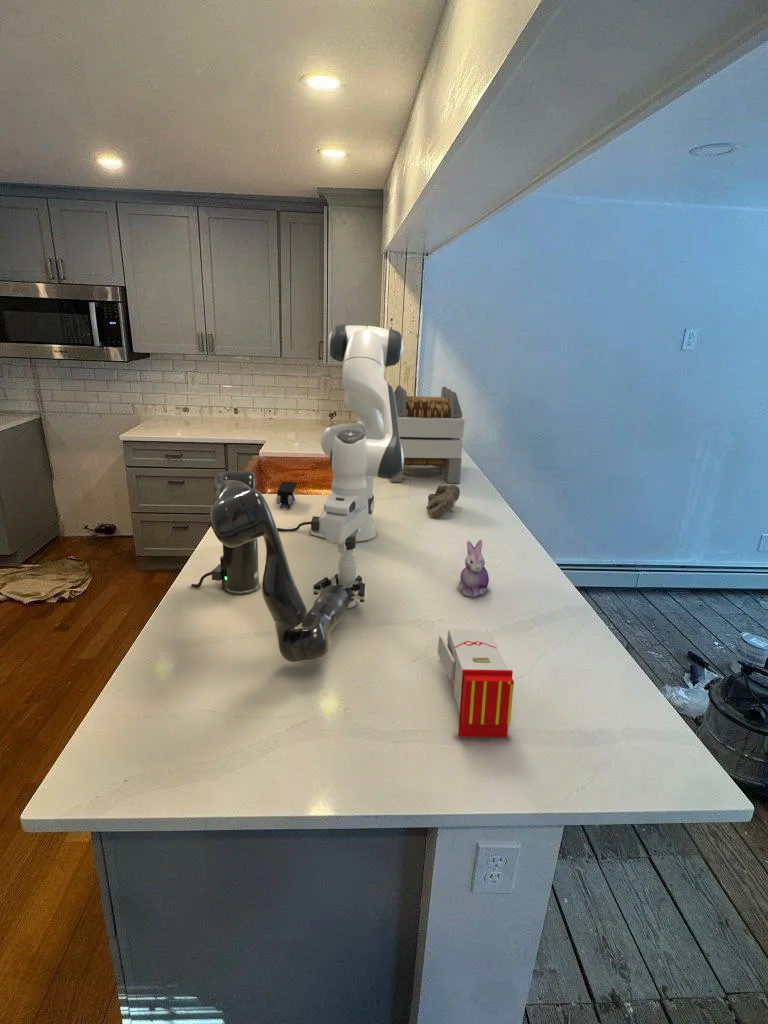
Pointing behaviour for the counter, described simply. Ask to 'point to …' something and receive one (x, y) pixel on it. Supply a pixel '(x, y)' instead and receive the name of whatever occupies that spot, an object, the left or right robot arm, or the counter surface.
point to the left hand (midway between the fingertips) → (349, 577)
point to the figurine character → (286, 494)
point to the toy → (478, 682)
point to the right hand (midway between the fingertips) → (347, 547)
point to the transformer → (431, 432)
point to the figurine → (474, 572)
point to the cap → (350, 543)
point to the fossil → (442, 500)
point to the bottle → (347, 570)
